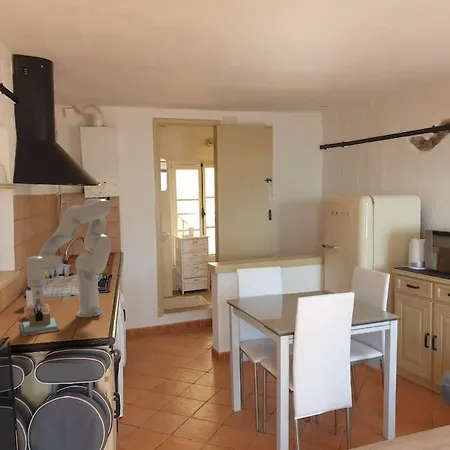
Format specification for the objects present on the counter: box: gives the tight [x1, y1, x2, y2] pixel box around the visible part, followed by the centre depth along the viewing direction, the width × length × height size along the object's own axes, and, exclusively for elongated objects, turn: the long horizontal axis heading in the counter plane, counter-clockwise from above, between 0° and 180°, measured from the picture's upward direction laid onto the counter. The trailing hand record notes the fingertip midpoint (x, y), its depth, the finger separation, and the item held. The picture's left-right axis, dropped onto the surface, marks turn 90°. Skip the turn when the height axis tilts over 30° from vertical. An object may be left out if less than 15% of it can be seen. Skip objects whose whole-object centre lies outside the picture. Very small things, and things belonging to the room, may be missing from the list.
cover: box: [22, 311, 58, 333], centre depth 214 cm, size 14×14×6 cm
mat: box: [19, 317, 60, 337], centre depth 215 cm, size 20×16×1 cm
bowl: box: [23, 303, 51, 320], centre depth 232 cm, size 12×12×5 cm
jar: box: [25, 283, 33, 306], centre depth 252 cm, size 9×8×12 cm
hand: (38, 318), depth 214 cm, fingers open, 9 cm apart
